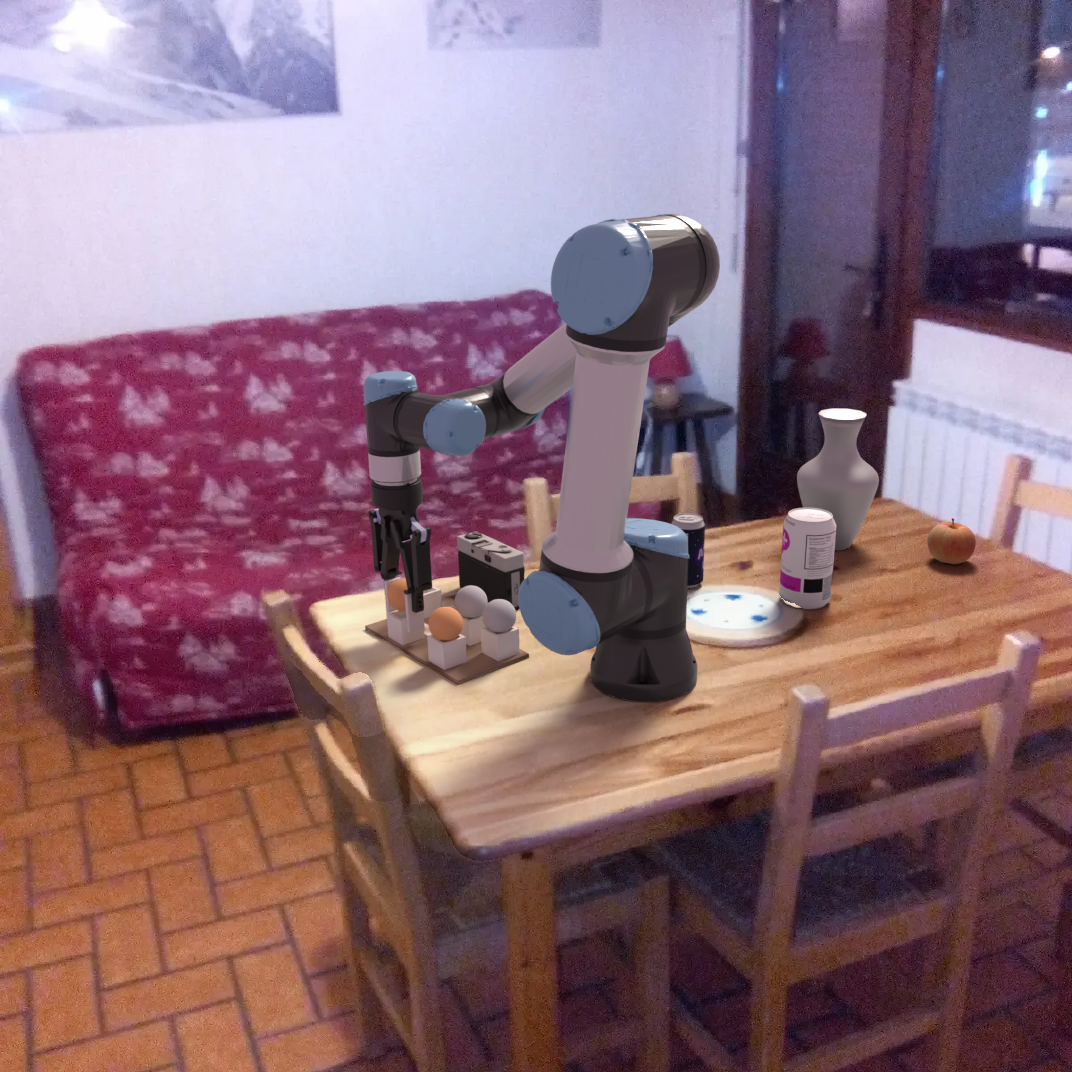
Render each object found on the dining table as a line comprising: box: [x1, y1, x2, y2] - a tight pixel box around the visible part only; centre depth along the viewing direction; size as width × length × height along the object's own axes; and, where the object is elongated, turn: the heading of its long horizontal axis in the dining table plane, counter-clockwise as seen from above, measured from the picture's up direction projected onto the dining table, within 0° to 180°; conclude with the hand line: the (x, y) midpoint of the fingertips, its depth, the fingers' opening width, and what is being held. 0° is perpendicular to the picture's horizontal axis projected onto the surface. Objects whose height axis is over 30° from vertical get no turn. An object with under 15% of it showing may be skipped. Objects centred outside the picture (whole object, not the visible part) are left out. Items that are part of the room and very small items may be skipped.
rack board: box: [364, 617, 530, 685], centre depth 172 cm, size 25×13×1 cm, turn 39°
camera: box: [456, 531, 526, 611], centre depth 188 cm, size 14×8×10 cm, turn 37°
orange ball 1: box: [387, 577, 408, 611], centre depth 171 cm, size 5×5×5 cm
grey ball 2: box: [482, 599, 517, 633], centre depth 165 cm, size 5×5×5 cm
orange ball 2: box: [429, 606, 463, 641], centre depth 163 cm, size 5×5×5 cm
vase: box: [796, 407, 880, 551], centre depth 205 cm, size 14×14×25 cm
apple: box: [926, 517, 977, 565], centre depth 198 cm, size 8×8×8 cm
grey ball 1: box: [454, 585, 488, 619], centre depth 170 cm, size 5×5×5 cm
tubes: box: [386, 585, 520, 670], centre depth 172 cm, size 24×12×4 cm, turn 39°
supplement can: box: [778, 507, 836, 610], centre depth 182 cm, size 8×8×15 cm
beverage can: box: [670, 512, 706, 589], centre depth 190 cm, size 6×6×12 cm
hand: (405, 623), depth 172 cm, fingers closed on orange ball 1, 5 cm apart
